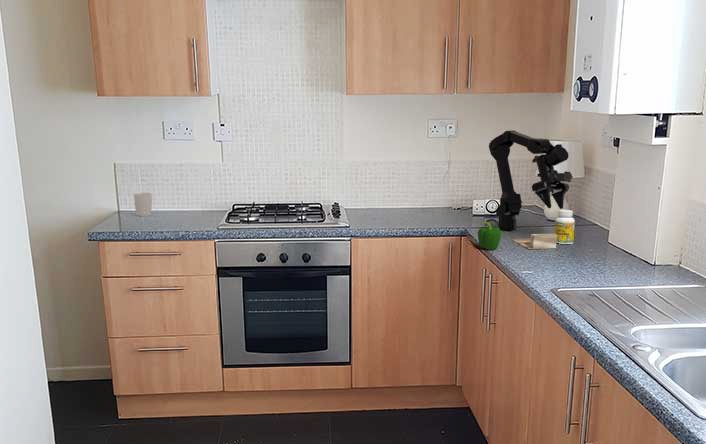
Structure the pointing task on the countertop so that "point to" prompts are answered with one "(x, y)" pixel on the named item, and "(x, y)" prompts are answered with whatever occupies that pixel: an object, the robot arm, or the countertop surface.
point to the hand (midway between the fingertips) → (555, 208)
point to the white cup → (143, 204)
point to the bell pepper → (489, 237)
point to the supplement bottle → (565, 227)
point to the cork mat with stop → (538, 241)
